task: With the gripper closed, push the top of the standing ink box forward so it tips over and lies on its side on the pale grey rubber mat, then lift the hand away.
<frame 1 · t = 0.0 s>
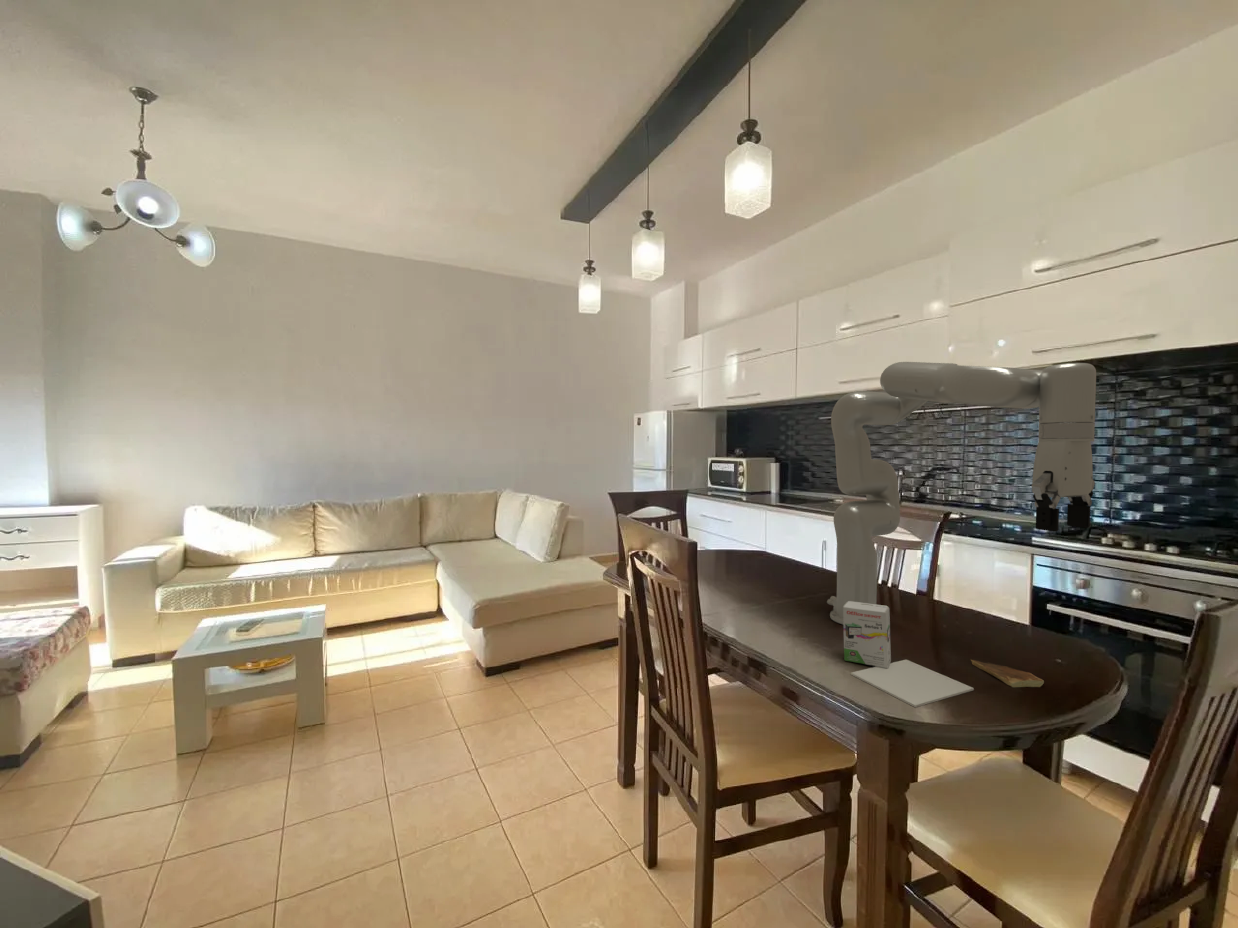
hand: (1062, 528, 92), 31 cm above the table, tool pointing down, fingers open, 9 cm apart
shard: (1004, 681, 101), on the table
grey mat: (910, 682, 99), on the table
ink box: (867, 661, 109), on the table, touching grey mat
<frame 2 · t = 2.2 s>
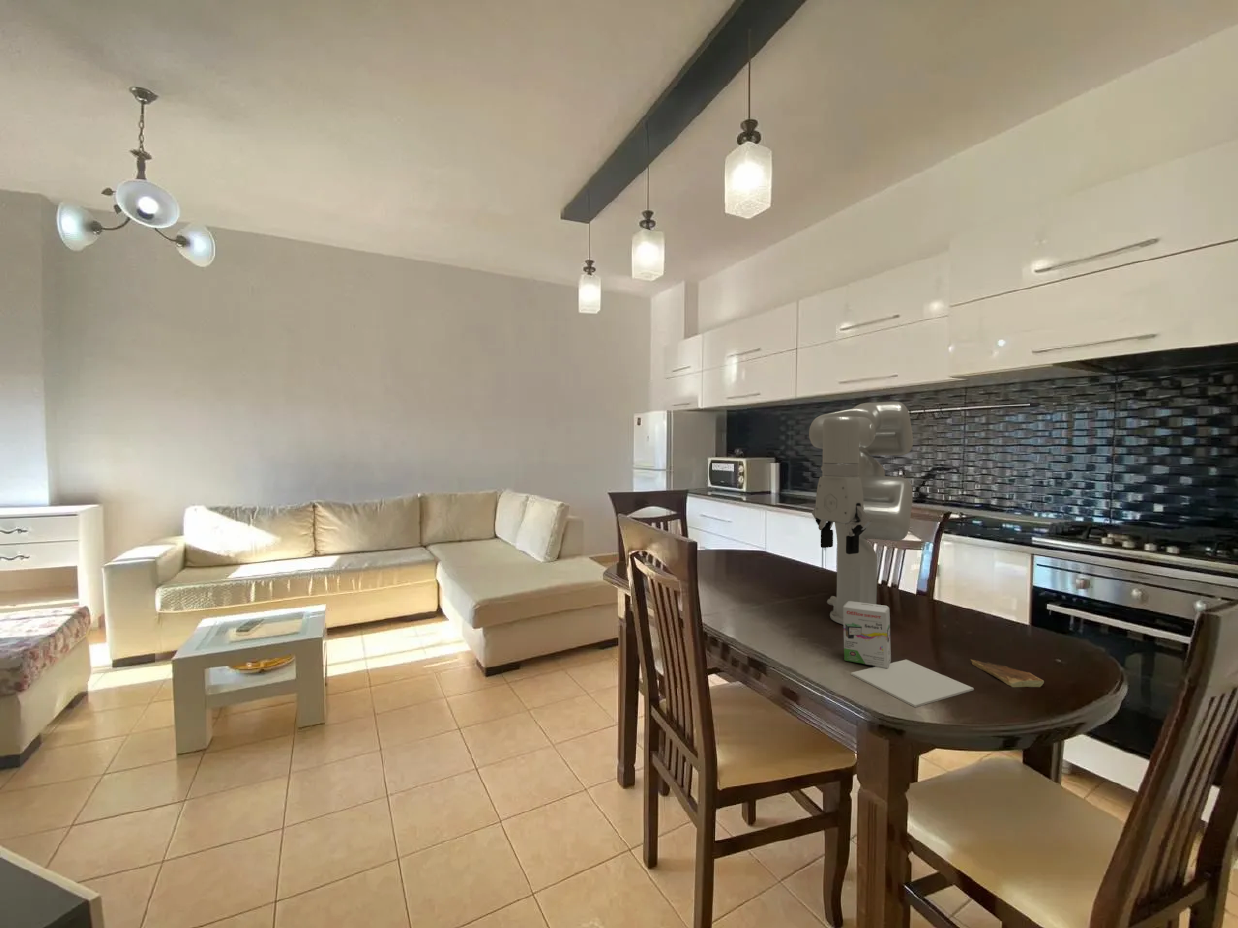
hand: (839, 549, 115), 23 cm above the table, tool pointing down, fingers open, 6 cm apart
nothing on the table moved.
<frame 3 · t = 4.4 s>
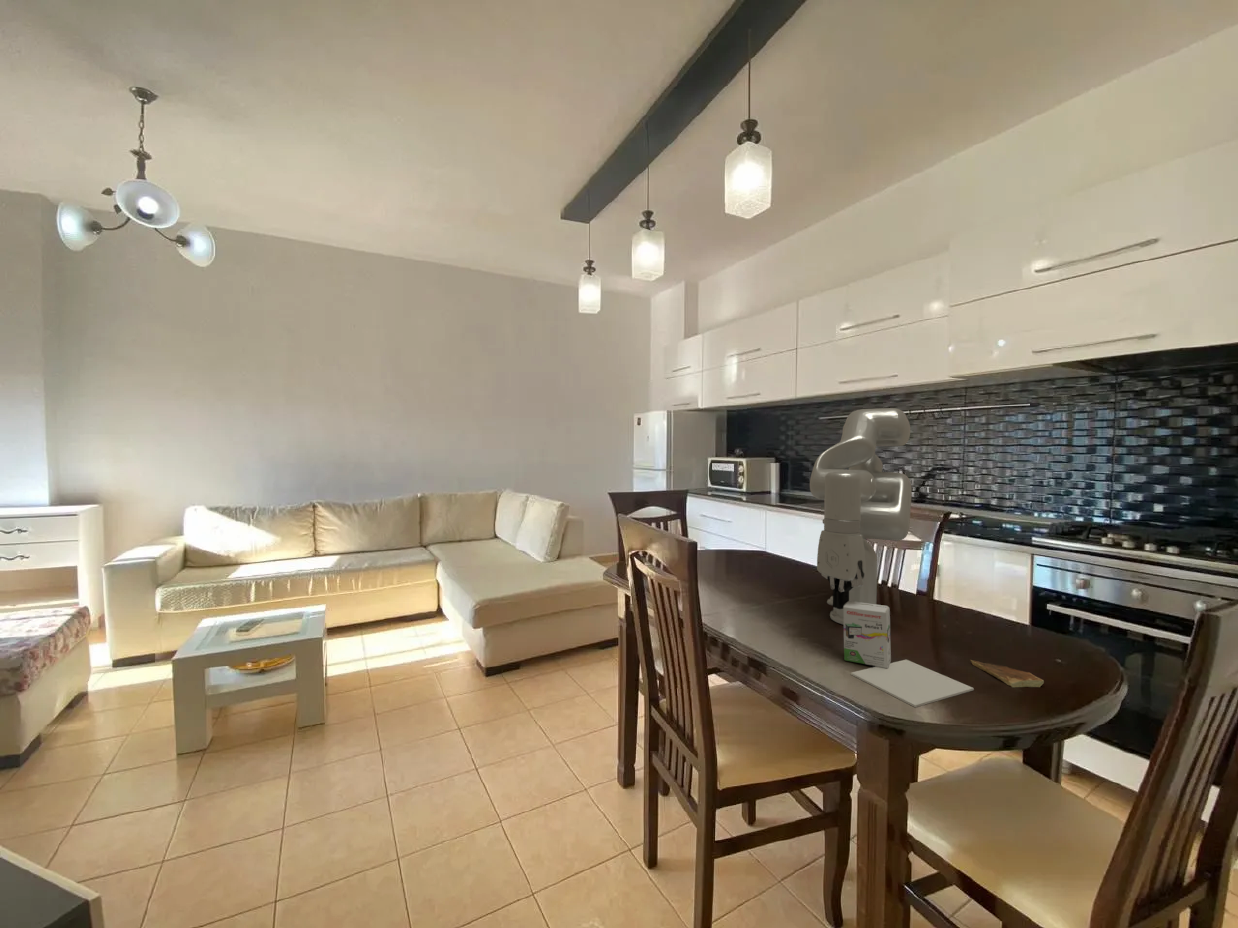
hand: (840, 607, 115), 10 cm above the table, tool pointing down, fingers closed
ink box: (867, 661, 109), on the table, touching grey mat, gripper
everything else where it was.
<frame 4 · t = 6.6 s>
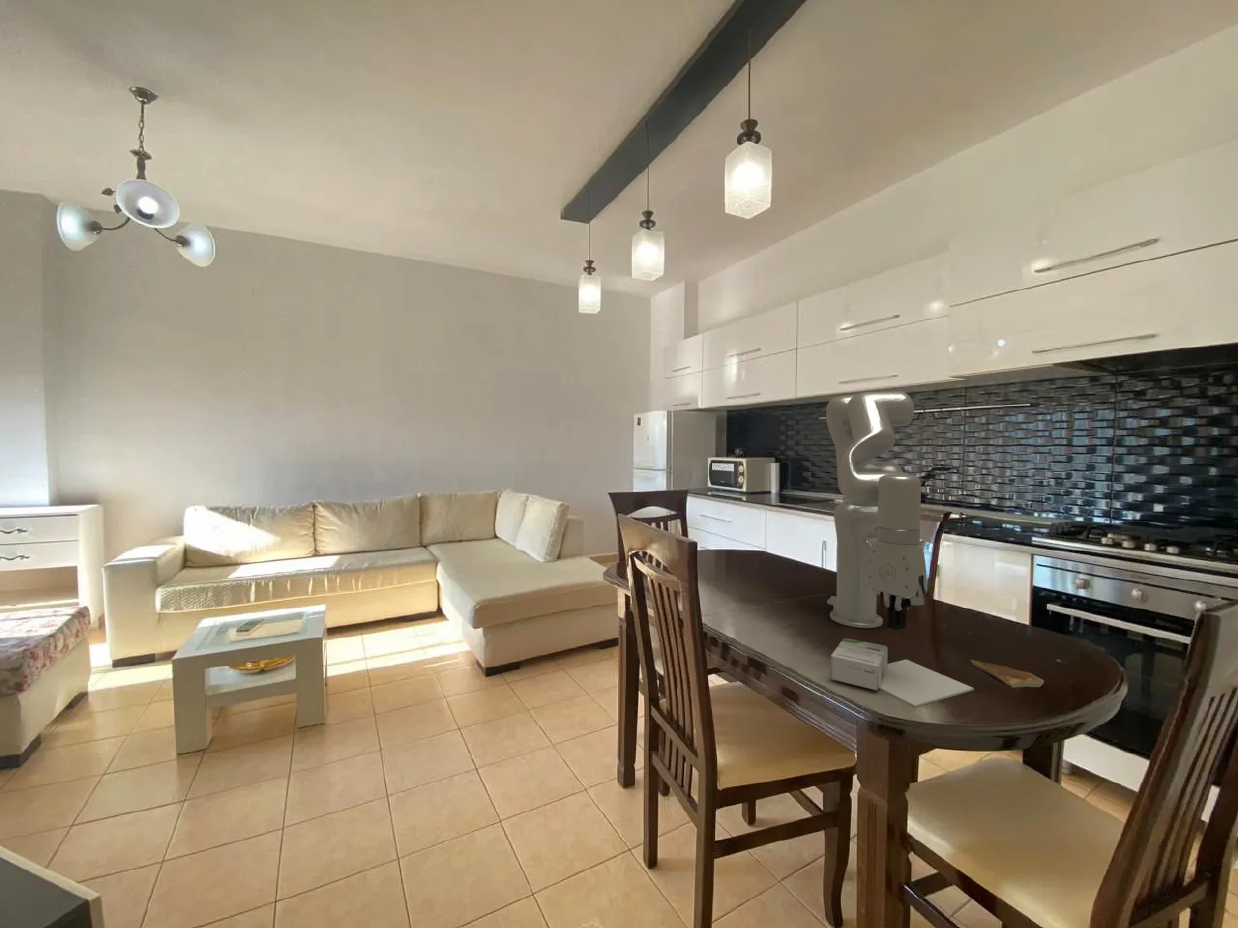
hand: (896, 627, 102), 10 cm above the table, tool pointing down, fingers closed
ink box: (865, 652, 107), point 3 cm above the table, touching grey mat
everything else where it was.
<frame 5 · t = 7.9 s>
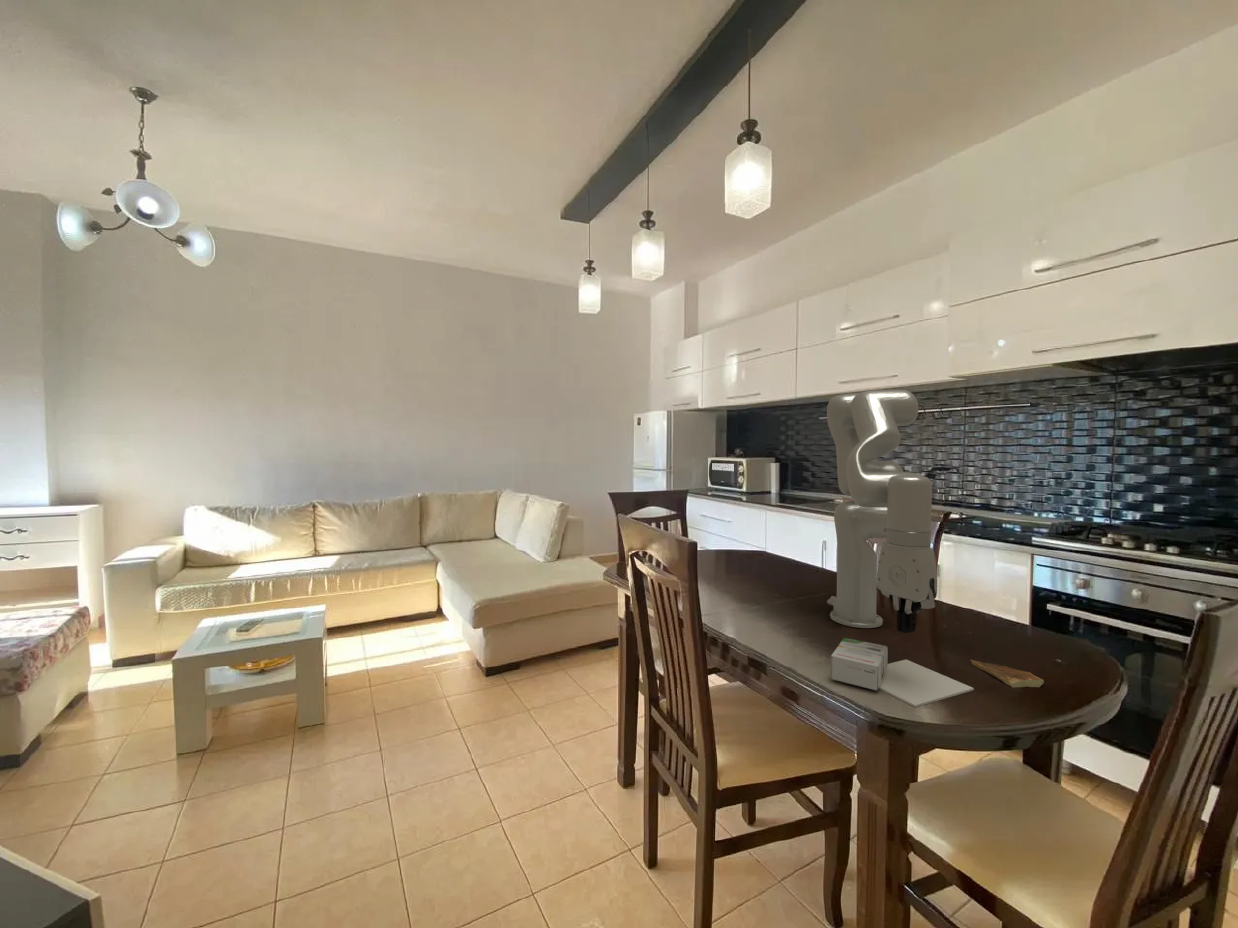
hand: (906, 630, 100), 10 cm above the table, tool pointing down, fingers closed
nothing on the table moved.
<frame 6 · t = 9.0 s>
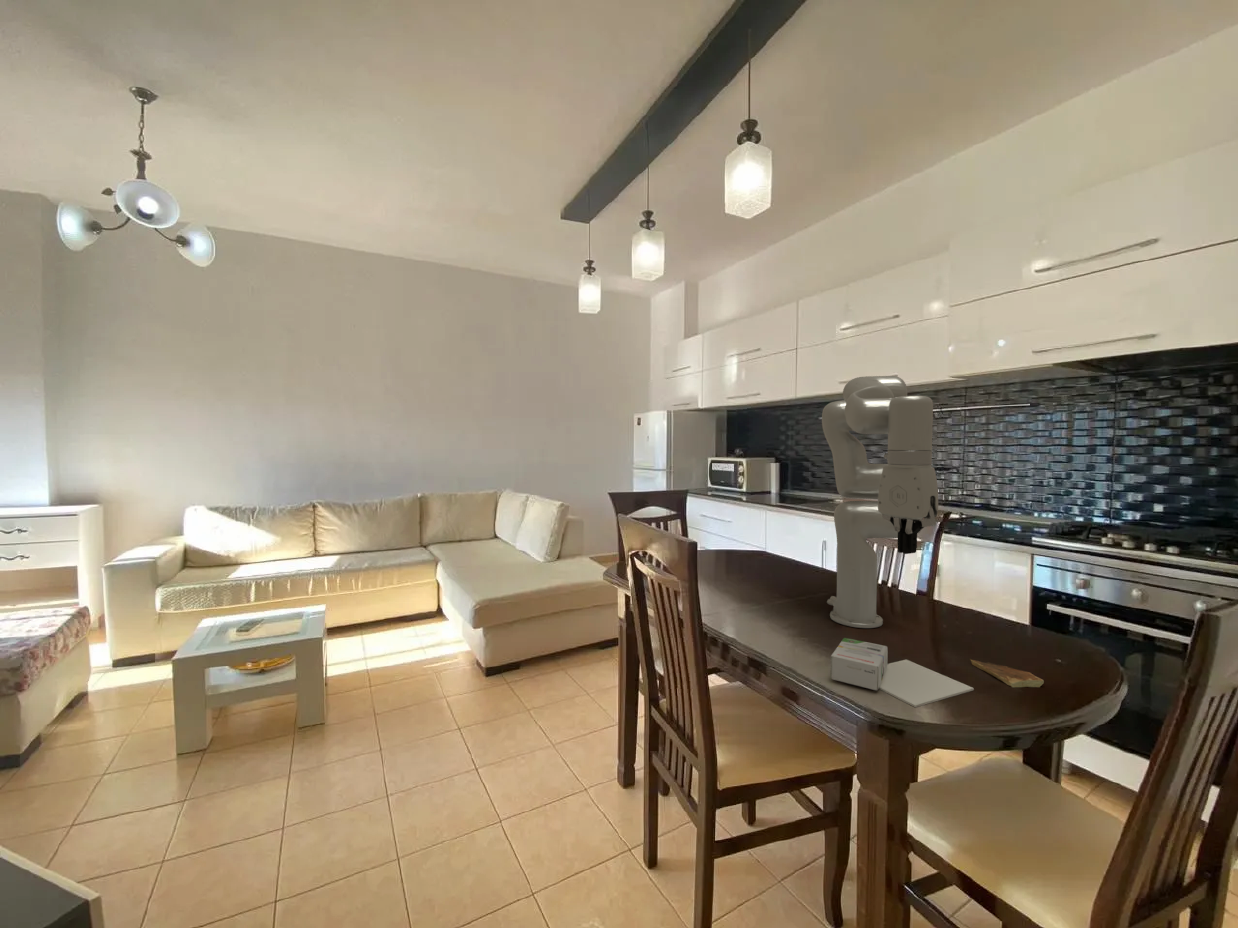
hand: (906, 552, 100), 25 cm above the table, tool pointing down, fingers closed
nothing on the table moved.
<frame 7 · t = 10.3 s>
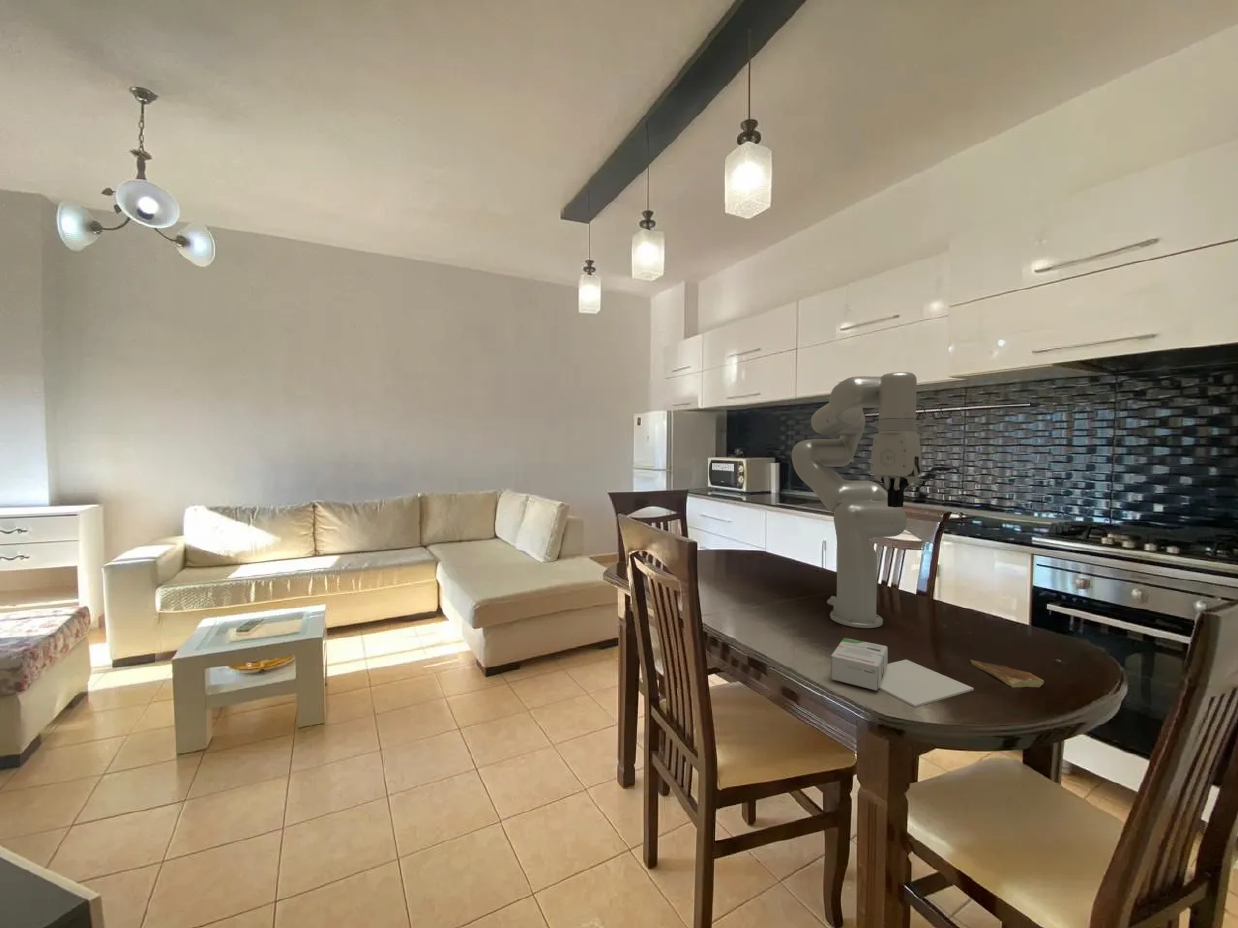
hand: (895, 506, 118), 32 cm above the table, tool pointing down, fingers closed
nothing on the table moved.
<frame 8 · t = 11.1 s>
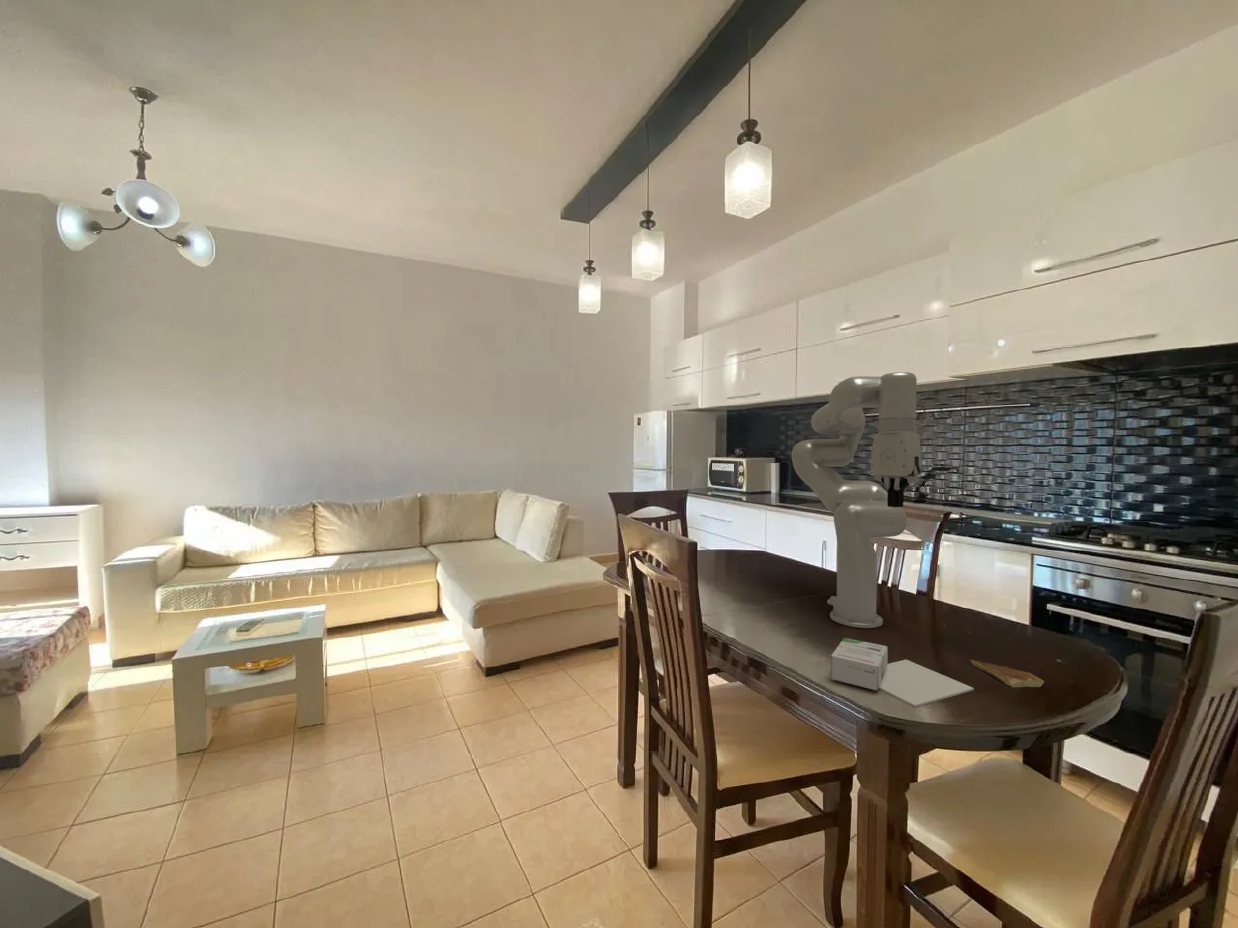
hand: (895, 506, 118), 32 cm above the table, tool pointing down, fingers closed
nothing on the table moved.
at the end: ink box tilted 90°; ink box inside the target area (7.2 cm from its centre), point 2.9 cm above the table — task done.
